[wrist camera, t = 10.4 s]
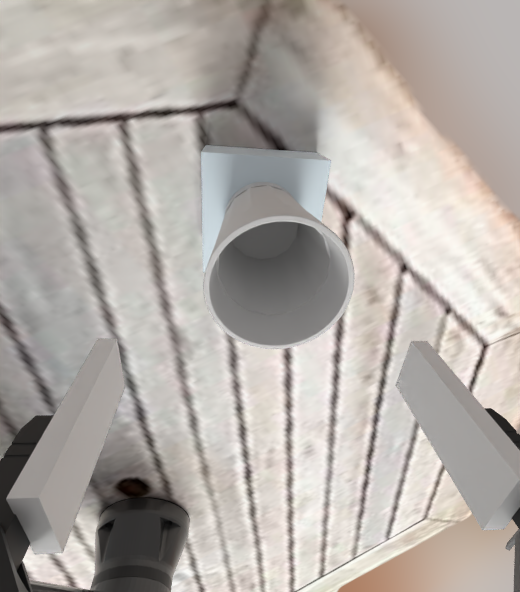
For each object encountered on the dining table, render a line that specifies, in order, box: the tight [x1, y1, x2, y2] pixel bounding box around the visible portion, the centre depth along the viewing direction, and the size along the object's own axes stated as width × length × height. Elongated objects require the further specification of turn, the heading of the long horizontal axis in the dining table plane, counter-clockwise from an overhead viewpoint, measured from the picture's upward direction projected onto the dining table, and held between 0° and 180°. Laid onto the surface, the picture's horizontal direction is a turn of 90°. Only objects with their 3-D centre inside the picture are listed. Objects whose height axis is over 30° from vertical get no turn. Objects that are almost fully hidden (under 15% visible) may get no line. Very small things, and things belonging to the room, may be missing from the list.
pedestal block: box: [201, 145, 331, 272], centre depth 30 cm, size 10×10×5 cm
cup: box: [203, 182, 354, 349], centre depth 23 cm, size 8×8×12 cm
